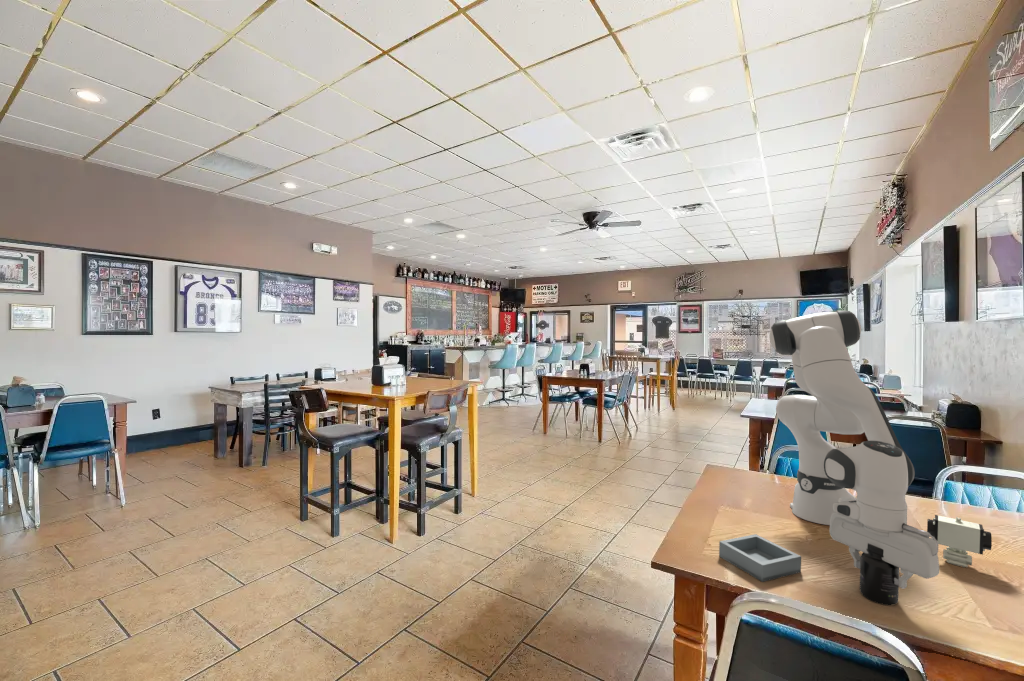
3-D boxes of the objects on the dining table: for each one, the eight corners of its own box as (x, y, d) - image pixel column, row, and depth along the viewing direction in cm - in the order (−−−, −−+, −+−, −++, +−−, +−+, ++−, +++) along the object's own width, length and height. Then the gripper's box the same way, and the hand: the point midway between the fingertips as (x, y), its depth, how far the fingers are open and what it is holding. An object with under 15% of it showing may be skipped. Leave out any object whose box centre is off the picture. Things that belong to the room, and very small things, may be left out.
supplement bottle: (851, 589, 104) (852, 537, 104) (878, 588, 105) (880, 537, 105) (878, 607, 97) (879, 552, 97) (907, 606, 98) (908, 551, 98)
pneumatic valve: (990, 575, 111) (992, 527, 111) (926, 559, 119) (927, 514, 119) (988, 567, 115) (990, 520, 115) (926, 551, 123) (927, 508, 123)
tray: (755, 548, 124) (755, 534, 123) (800, 572, 111) (801, 556, 111) (719, 556, 119) (719, 541, 119) (762, 582, 107) (762, 565, 107)
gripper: (947, 533, 92) (945, 600, 92) (843, 498, 111) (841, 554, 112) (929, 537, 90) (927, 606, 90) (825, 501, 109) (824, 558, 109)
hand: (879, 577), depth 101 cm, fingers closed on supplement bottle, 7 cm apart
